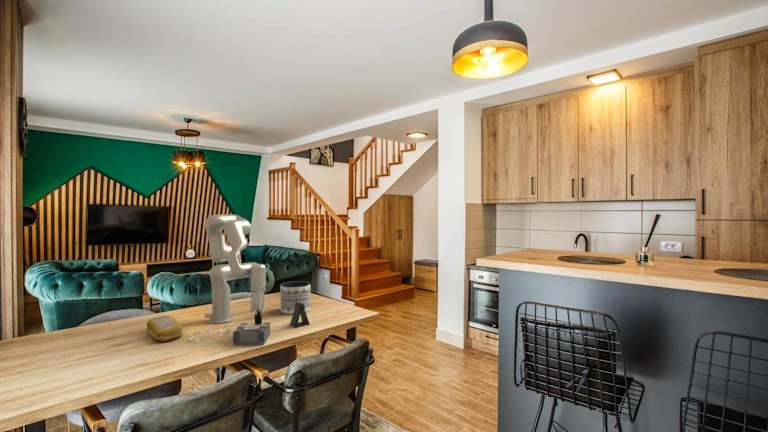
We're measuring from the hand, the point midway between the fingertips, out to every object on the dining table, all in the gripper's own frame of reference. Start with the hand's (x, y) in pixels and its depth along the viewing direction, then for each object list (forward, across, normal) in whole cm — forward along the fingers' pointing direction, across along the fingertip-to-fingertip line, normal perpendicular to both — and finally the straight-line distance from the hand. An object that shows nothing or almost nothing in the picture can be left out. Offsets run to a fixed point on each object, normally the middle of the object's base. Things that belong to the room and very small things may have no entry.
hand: (258, 323), depth 190 cm
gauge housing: (+4, +12, 0) cm, 13 cm away
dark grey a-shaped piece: (+4, -9, +20) cm, 22 cm away
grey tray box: (+2, +12, 0) cm, 12 cm away
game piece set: (+5, +7, -22) cm, 23 cm away
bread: (+5, +1, -46) cm, 46 cm away
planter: (+4, -38, +14) cm, 40 cm away
